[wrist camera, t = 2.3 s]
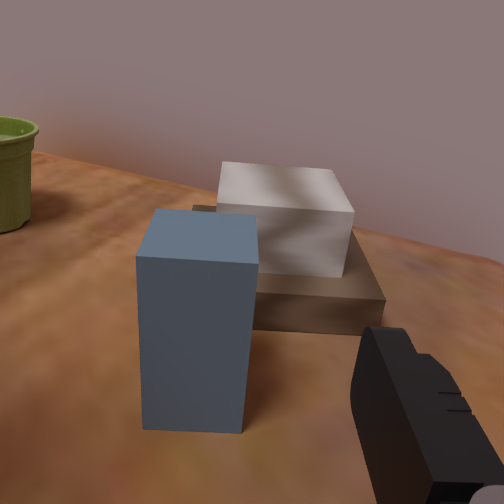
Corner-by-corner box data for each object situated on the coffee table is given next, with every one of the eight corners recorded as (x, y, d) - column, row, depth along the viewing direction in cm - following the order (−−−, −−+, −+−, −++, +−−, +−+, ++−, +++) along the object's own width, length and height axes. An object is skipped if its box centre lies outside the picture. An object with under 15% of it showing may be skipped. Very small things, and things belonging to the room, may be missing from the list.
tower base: (172, 324, 31) (172, 215, 27) (192, 234, 43) (194, 150, 39) (376, 336, 32) (404, 231, 28) (339, 244, 44) (354, 162, 40)
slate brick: (142, 429, 23) (135, 255, 19) (158, 361, 28) (156, 208, 23) (241, 433, 23) (258, 263, 19) (241, 366, 28) (255, 215, 23)
